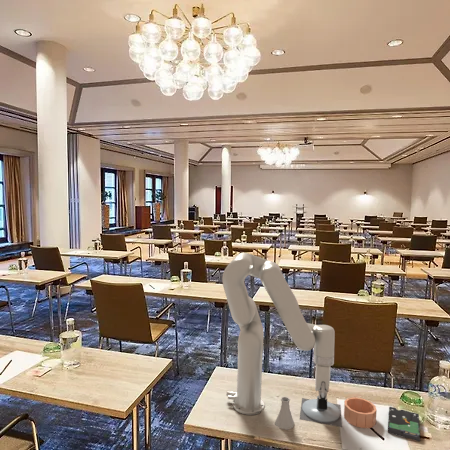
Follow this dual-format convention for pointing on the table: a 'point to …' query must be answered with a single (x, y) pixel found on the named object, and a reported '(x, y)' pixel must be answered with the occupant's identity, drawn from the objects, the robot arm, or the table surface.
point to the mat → (336, 423)
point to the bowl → (354, 410)
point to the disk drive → (404, 424)
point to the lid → (320, 411)
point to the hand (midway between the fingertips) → (322, 401)
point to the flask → (285, 415)
